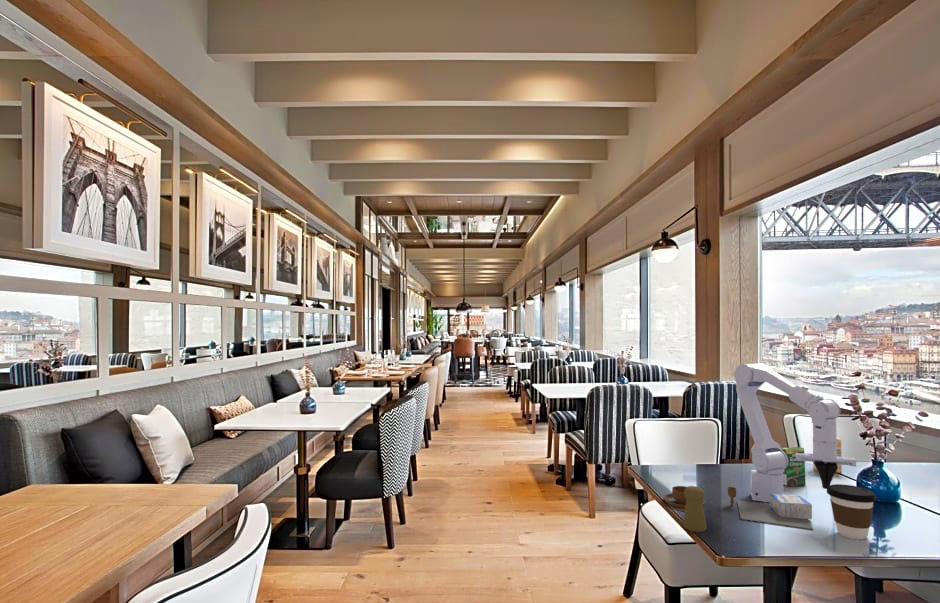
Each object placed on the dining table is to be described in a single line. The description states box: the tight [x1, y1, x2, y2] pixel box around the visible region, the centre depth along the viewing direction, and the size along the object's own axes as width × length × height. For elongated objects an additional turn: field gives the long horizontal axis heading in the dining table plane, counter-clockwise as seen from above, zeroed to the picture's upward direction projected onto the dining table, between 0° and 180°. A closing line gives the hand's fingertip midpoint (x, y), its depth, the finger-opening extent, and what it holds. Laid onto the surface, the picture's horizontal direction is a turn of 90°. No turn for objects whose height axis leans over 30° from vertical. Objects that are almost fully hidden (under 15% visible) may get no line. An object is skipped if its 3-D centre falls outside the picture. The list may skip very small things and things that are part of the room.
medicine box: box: [769, 494, 813, 520], centre depth 153 cm, size 8×4×9 cm
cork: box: [682, 485, 707, 533], centre depth 143 cm, size 6×6×11 cm
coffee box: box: [781, 446, 807, 488], centre depth 182 cm, size 8×3×13 cm, turn 101°
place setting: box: [663, 485, 737, 513], centre depth 161 cm, size 18×20×6 cm
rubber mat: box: [737, 500, 814, 531], centre depth 153 cm, size 18×17×1 cm
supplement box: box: [812, 437, 843, 474], centre depth 200 cm, size 8×5×13 cm, turn 81°
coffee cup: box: [826, 483, 878, 541], centre depth 139 cm, size 11×11×12 cm
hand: (825, 488), depth 151 cm, fingers closed
